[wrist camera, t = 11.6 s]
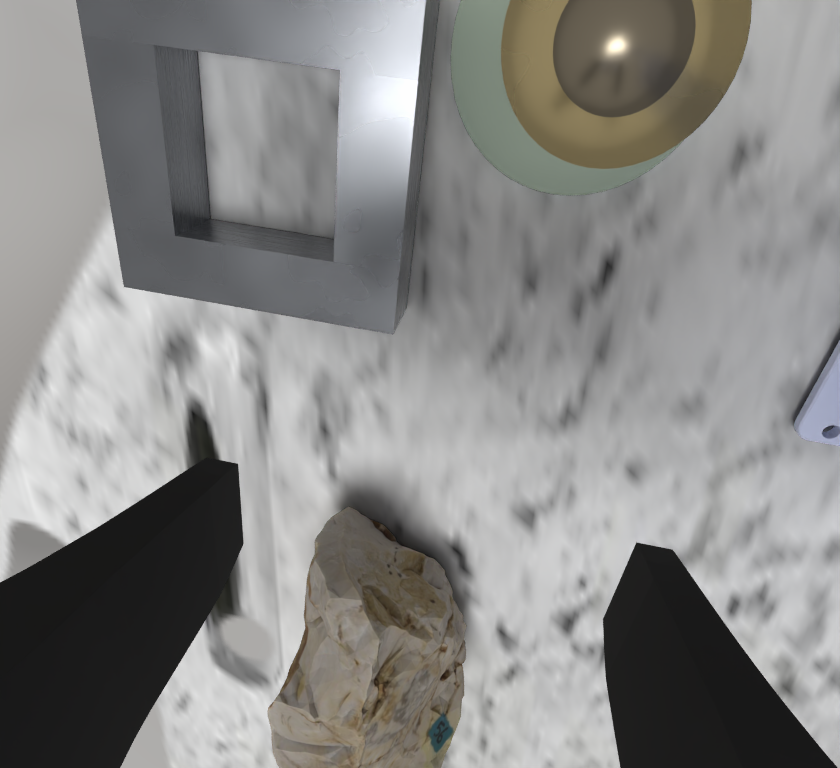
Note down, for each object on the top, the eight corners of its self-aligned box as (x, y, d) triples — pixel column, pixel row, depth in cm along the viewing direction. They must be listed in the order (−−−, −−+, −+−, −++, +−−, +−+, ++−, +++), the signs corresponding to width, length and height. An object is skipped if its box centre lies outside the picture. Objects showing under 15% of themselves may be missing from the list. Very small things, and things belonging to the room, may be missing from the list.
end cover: (676, -22, 13) (804, -102, 7) (631, 139, 15) (701, 186, 9) (528, -39, 14) (527, -131, 8) (500, 120, 16) (481, 154, 9)
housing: (440, -7, 15) (427, -18, 13) (406, 308, 19) (393, 334, 17) (122, -46, 15) (66, -61, 14) (162, 266, 20) (124, 286, 18)
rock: (469, 719, 28) (410, 934, 19) (351, 681, 30) (243, 862, 21) (499, 497, 26) (449, 618, 17) (369, 470, 28) (256, 566, 18)
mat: (776, -100, 13) (782, -104, 12) (671, 209, 16) (675, 212, 16) (474, -131, 13) (472, -136, 13) (437, 174, 17) (435, 176, 17)
